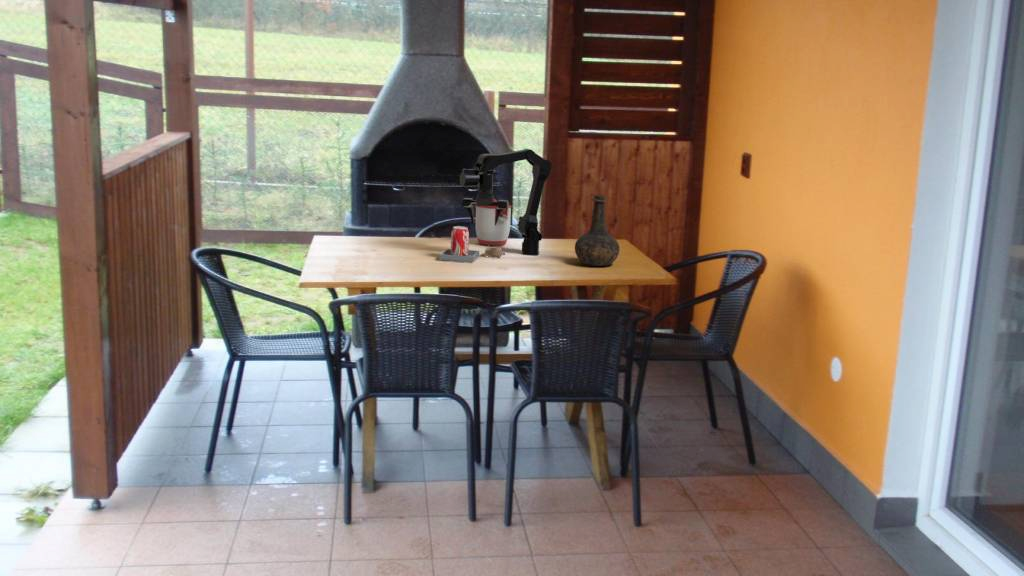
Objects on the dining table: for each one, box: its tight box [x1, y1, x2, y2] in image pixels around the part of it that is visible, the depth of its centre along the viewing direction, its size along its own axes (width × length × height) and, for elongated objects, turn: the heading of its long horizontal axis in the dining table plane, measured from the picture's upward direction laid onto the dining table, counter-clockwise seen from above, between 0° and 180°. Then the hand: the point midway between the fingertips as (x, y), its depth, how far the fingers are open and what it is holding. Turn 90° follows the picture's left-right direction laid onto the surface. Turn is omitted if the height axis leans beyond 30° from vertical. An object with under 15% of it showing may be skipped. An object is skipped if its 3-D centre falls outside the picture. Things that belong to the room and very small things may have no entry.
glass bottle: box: [574, 193, 620, 267], centre depth 395 cm, size 18×18×28 cm
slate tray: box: [439, 248, 480, 263], centre depth 398 cm, size 13×13×2 cm
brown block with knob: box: [484, 246, 506, 259], centre depth 408 cm, size 8×9×3 cm
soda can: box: [450, 225, 470, 256], centre depth 398 cm, size 7×7×12 cm
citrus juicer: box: [474, 198, 512, 247], centre depth 431 cm, size 16×17×20 cm
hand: (484, 224), depth 403 cm, fingers open, 9 cm apart
